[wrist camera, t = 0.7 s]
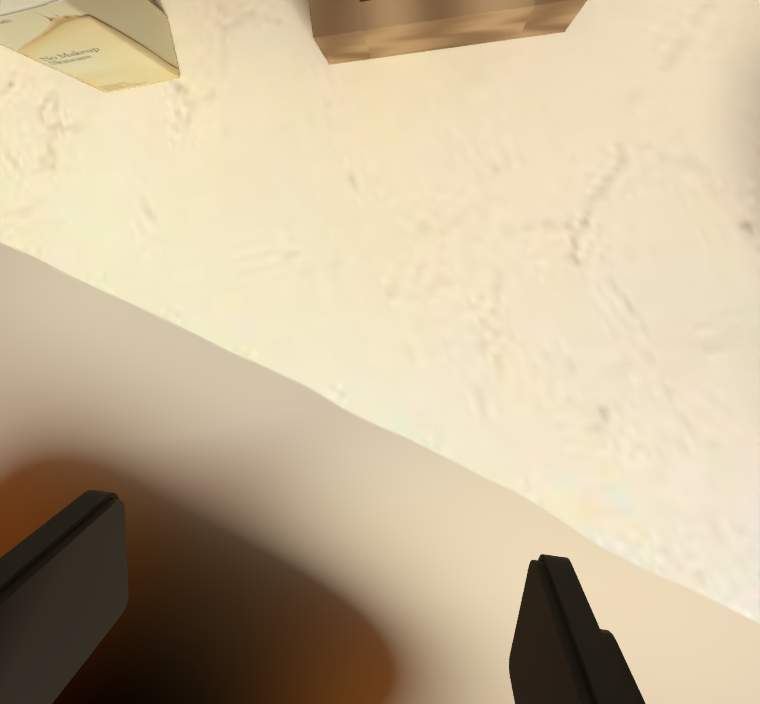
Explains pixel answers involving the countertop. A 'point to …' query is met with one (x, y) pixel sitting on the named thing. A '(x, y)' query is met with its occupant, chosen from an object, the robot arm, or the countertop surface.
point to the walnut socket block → (429, 24)
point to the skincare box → (93, 39)
